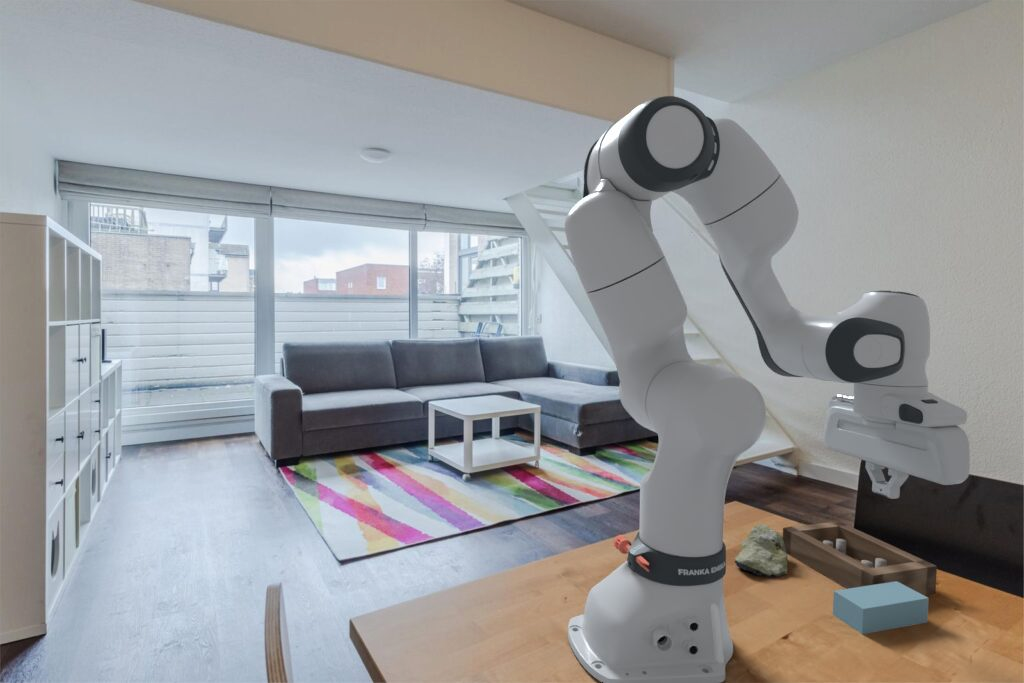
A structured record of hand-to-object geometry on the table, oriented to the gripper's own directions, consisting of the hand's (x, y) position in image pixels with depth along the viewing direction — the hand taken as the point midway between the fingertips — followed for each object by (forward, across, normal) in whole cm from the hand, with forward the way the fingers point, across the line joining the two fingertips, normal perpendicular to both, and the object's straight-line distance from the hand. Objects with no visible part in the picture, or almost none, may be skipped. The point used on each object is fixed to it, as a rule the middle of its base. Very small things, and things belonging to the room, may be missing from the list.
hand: (885, 495), depth 78 cm
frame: (+19, -13, +9) cm, 24 cm away
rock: (+19, -19, -6) cm, 28 cm away
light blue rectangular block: (+19, 0, 0) cm, 19 cm away
